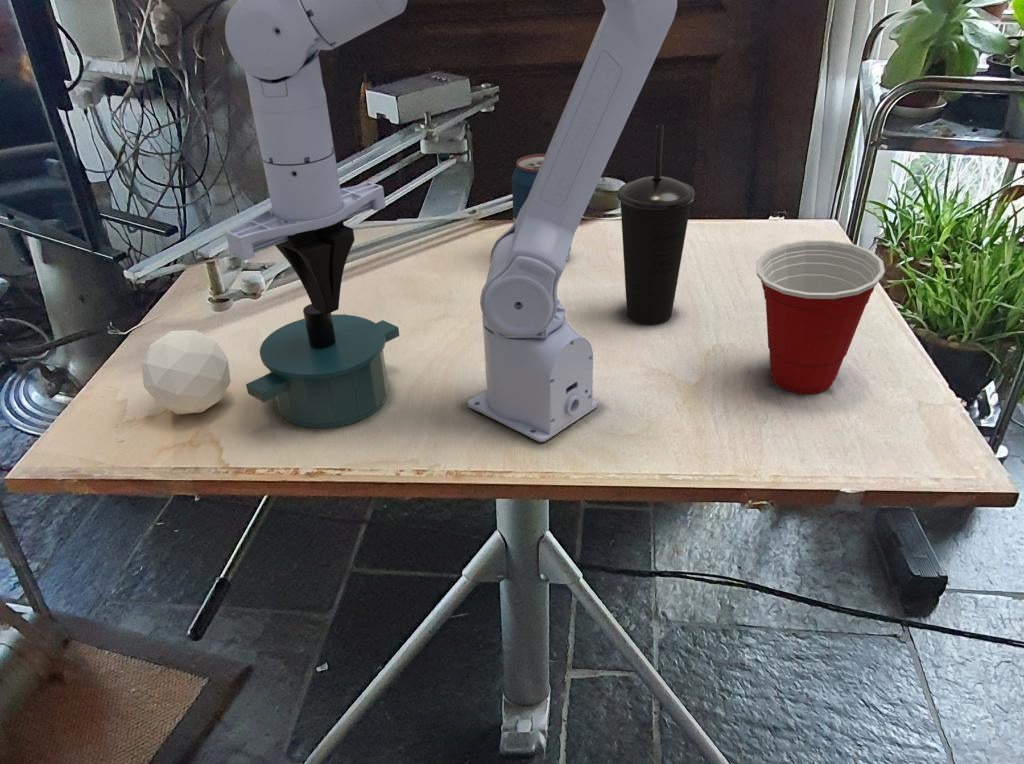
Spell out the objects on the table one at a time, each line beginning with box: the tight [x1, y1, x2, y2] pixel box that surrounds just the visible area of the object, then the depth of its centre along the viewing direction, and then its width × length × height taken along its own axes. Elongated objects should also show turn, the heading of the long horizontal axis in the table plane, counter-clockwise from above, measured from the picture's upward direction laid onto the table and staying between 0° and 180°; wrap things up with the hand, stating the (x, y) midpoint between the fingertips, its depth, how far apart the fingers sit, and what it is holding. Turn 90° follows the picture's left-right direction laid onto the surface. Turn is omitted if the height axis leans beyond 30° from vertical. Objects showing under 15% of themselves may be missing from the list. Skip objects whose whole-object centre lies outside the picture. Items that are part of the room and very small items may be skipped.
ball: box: [141, 329, 232, 415], centre depth 83 cm, size 8×8×8 cm
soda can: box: [511, 153, 572, 253], centre depth 107 cm, size 7×7×12 cm
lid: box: [259, 303, 386, 379], centre depth 81 cm, size 11×11×5 cm
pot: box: [245, 319, 400, 429], centre depth 84 cm, size 10×16×6 cm, turn 137°
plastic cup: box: [755, 239, 886, 395], centre depth 81 cm, size 11×11×12 cm
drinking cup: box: [617, 124, 696, 325], centre depth 91 cm, size 8×8×20 cm
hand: (326, 308), depth 79 cm, fingers closed
